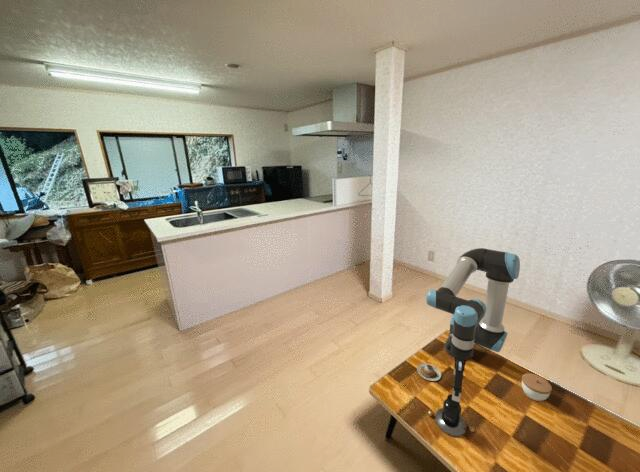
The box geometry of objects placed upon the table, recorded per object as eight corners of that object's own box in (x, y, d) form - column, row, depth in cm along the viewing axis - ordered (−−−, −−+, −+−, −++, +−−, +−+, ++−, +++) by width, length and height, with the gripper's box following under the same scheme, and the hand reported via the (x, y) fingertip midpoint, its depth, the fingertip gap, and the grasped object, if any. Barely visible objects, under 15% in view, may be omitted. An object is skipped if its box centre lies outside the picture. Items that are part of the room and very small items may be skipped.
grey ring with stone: (412, 373, 138) (413, 366, 137) (423, 361, 146) (423, 354, 144) (435, 386, 129) (435, 379, 128) (445, 373, 137) (445, 366, 136)
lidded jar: (525, 402, 119) (528, 386, 116) (515, 383, 129) (518, 368, 126) (553, 408, 116) (557, 391, 113) (541, 388, 125) (545, 373, 123)
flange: (429, 403, 120) (429, 400, 120) (473, 419, 112) (474, 417, 112) (426, 425, 110) (426, 422, 110) (474, 445, 102) (475, 442, 102)
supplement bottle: (443, 427, 108) (446, 405, 105) (439, 412, 115) (442, 390, 112) (461, 429, 107) (464, 407, 104) (456, 414, 114) (459, 393, 110)
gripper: (452, 324, 113) (448, 363, 119) (449, 362, 92) (444, 408, 98) (472, 328, 109) (466, 369, 115) (473, 370, 88) (466, 416, 94)
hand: (456, 387), depth 106 cm, fingers open, 13 cm apart
